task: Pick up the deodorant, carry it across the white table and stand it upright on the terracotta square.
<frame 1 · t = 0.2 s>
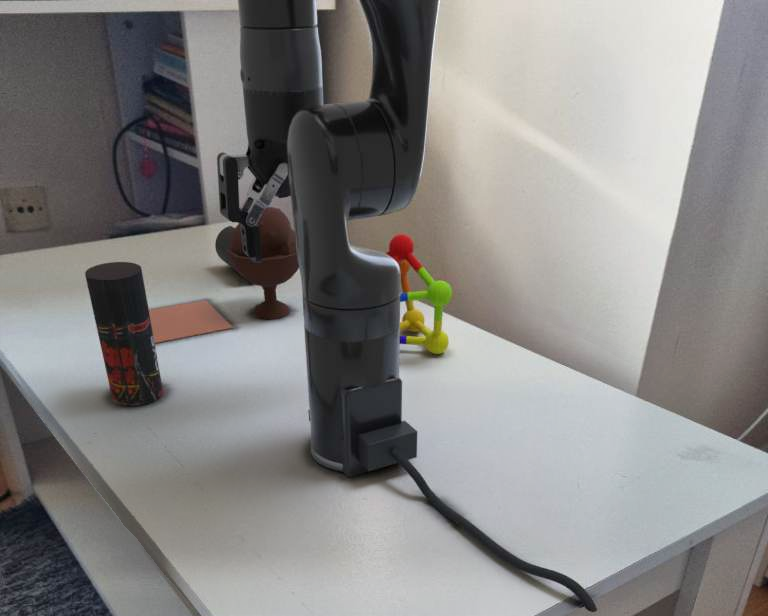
hand: (293, 254, 85), 17 cm above the table, tool pointing down, fingers open, 8 cm apart
educational toy: (398, 349, 107), on the table
deodorant: (138, 396, 96), on the table
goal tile: (178, 321, 115), on the table
end cap: (249, 276, 131), on the table
ice cream bowl: (271, 313, 118), on the table
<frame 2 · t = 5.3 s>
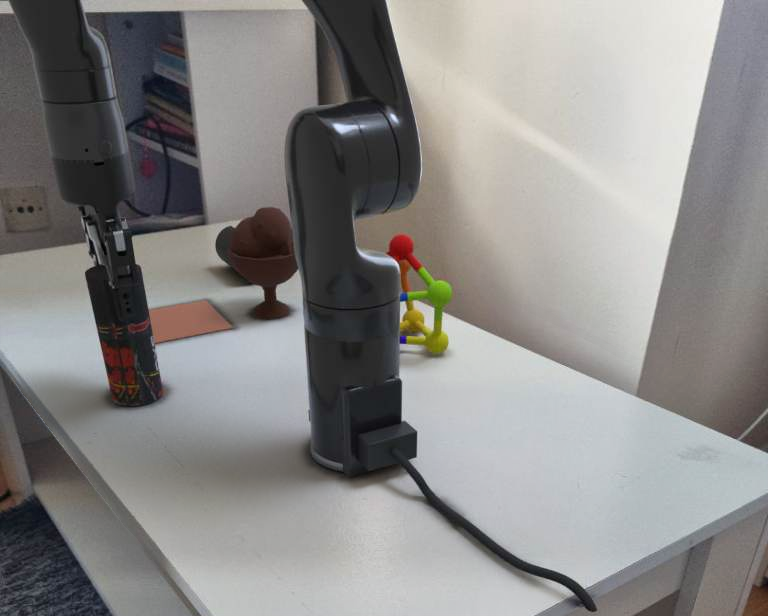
hand: (121, 309, 90), 11 cm above the table, tool pointing down, fingers closed on deodorant, 6 cm apart
deodorant: (138, 396, 96), on the table, touching gripper
everything else where it was.
when the fingers open (11 cm above the table, at t = 12.8 s): deodorant stays where it is, resting on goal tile.
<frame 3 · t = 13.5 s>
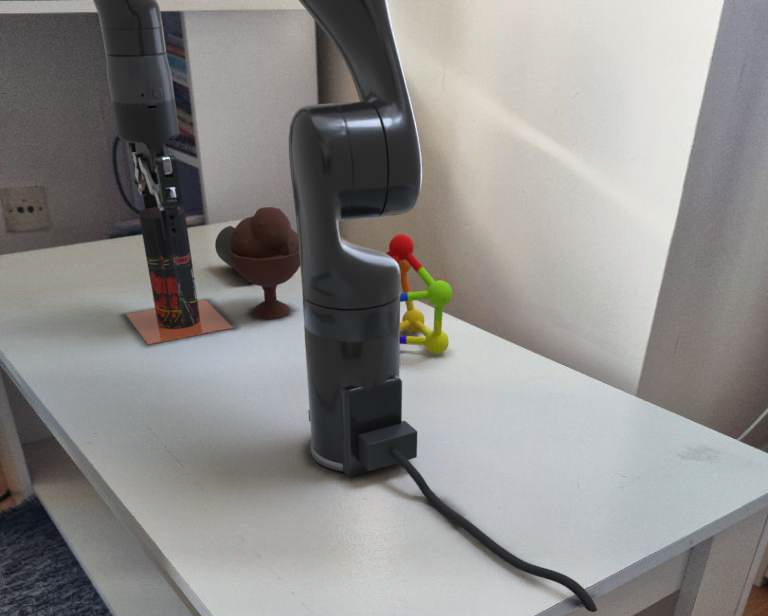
hand: (163, 231, 107), 13 cm above the table, tool pointing down, fingers open, 8 cm apart
deodorant: (179, 322, 115), resting on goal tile
everything else where it was.
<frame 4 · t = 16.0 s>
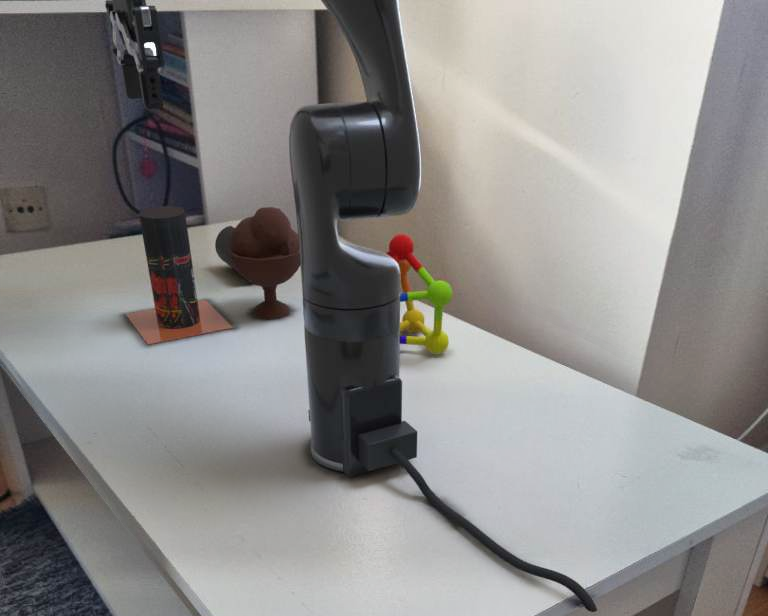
hand: (144, 103, 98), 28 cm above the table, tool pointing down, fingers open, 8 cm apart
nothing on the table moved.
at the end: deodorant inside the target area on the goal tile (0.1 cm from its centre), point 0.0 cm above the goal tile's base; deodorant tilted 0° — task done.
